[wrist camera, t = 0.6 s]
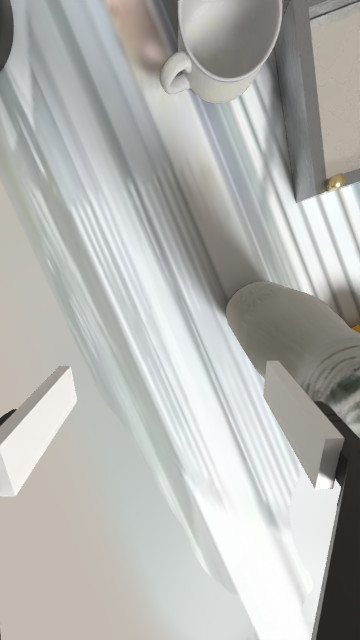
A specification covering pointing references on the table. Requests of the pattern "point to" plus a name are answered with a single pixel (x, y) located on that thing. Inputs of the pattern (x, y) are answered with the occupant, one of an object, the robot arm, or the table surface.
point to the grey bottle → (300, 343)
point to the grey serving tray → (321, 93)
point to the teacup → (221, 46)
